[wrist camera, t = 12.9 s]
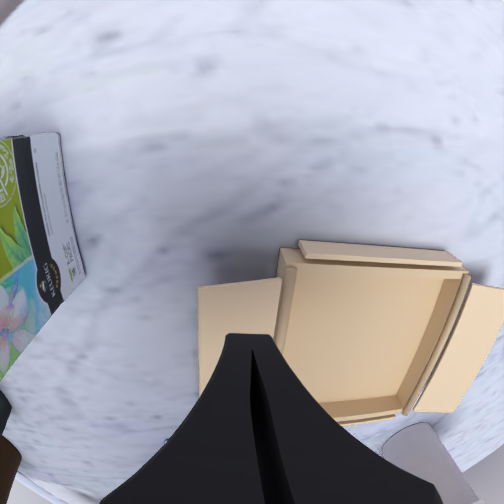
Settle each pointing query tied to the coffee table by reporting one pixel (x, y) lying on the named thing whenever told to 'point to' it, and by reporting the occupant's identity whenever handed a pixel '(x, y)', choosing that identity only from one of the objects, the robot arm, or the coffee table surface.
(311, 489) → the robot arm
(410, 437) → the coffee cup
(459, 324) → the flap far
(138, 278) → the coffee table surface
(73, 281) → the tea box
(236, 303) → the flap near
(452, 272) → the carton
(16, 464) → the olive oil
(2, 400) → the green animal figurine
